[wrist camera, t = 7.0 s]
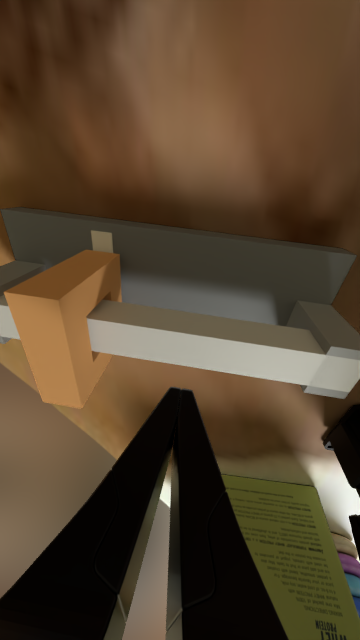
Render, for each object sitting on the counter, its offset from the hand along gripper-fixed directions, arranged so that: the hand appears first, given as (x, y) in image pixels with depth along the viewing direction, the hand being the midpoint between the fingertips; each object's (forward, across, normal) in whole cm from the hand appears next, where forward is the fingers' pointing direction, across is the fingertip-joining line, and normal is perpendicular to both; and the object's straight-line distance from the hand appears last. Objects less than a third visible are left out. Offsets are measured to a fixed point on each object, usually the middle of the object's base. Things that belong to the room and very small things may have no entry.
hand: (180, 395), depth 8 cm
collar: (+7, +6, 0) cm, 9 cm away
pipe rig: (+9, +2, 0) cm, 9 cm away
